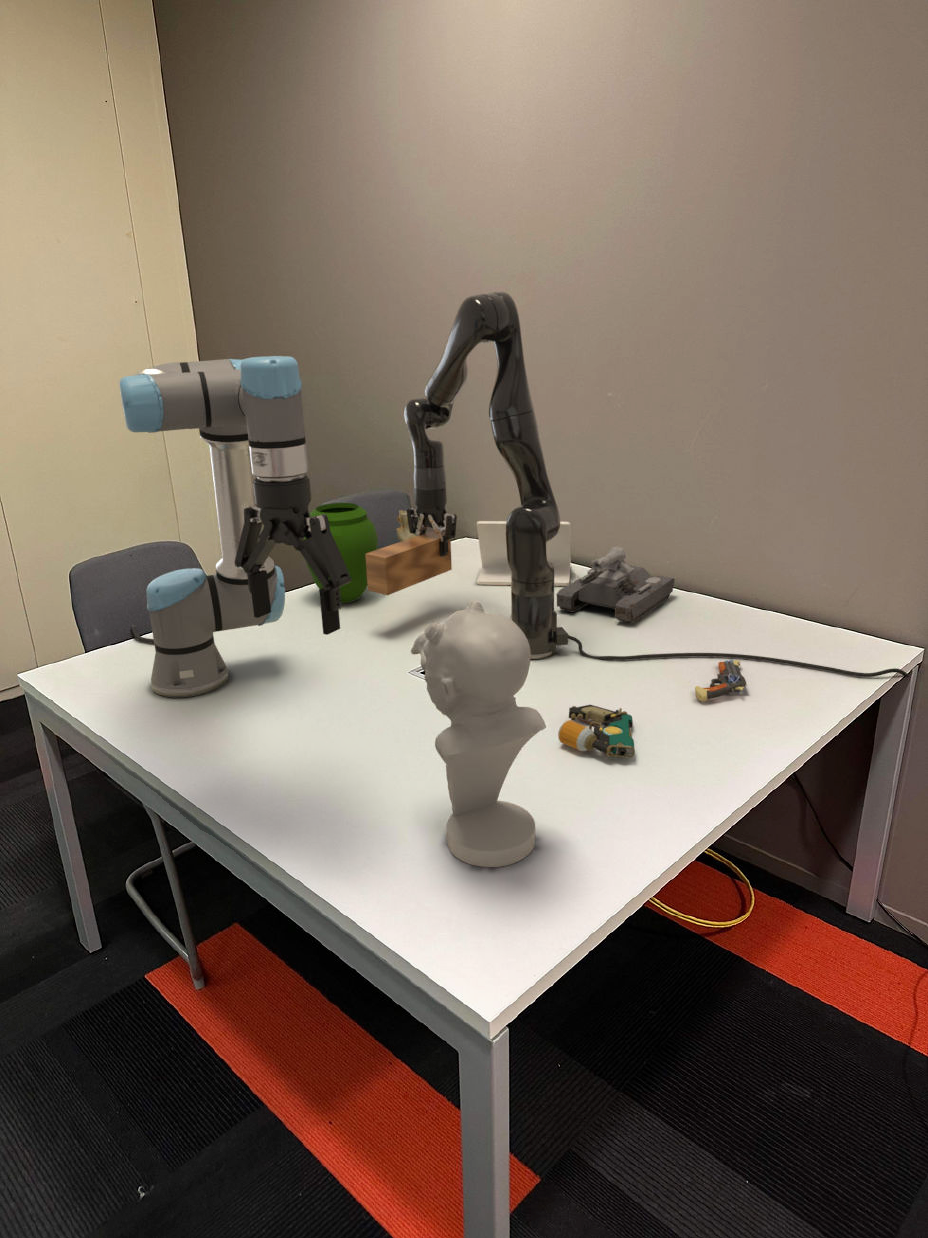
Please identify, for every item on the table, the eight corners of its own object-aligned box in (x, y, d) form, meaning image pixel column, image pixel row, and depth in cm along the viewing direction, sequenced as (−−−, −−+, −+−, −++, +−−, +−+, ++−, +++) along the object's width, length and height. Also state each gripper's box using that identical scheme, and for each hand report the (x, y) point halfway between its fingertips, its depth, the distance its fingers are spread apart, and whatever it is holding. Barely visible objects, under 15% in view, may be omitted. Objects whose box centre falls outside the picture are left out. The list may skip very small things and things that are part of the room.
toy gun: (696, 691, 161) (751, 688, 159) (689, 658, 179) (739, 655, 177) (697, 705, 162) (752, 702, 159) (690, 670, 179) (740, 667, 177)
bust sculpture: (481, 772, 140) (476, 569, 128) (565, 848, 120) (569, 617, 108) (392, 800, 134) (378, 588, 121) (465, 886, 114) (457, 642, 101)
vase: (396, 593, 227) (391, 503, 219) (349, 616, 212) (341, 520, 203) (340, 582, 237) (333, 496, 228) (291, 603, 222) (281, 511, 213)
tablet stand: (569, 585, 229) (570, 524, 223) (476, 584, 232) (475, 523, 226) (570, 566, 246) (571, 508, 240) (484, 564, 249) (483, 507, 243)
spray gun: (574, 713, 161) (653, 730, 155) (544, 749, 146) (630, 769, 140) (576, 692, 159) (656, 709, 153) (546, 727, 145) (632, 746, 139)
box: (432, 565, 212) (431, 531, 209) (451, 569, 208) (450, 534, 205) (367, 590, 195) (365, 553, 192) (387, 595, 192) (385, 557, 188)
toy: (603, 584, 229) (605, 530, 224) (673, 597, 218) (677, 540, 213) (555, 612, 210) (556, 553, 205) (630, 627, 199) (633, 566, 194)
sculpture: (417, 556, 259) (415, 507, 254) (417, 563, 252) (415, 513, 247) (398, 557, 259) (395, 508, 254) (398, 564, 252) (395, 514, 247)
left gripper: (197, 473, 119) (217, 615, 126) (331, 490, 106) (344, 648, 113) (238, 464, 125) (254, 601, 132) (370, 479, 112) (380, 630, 119)
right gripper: (396, 484, 202) (400, 552, 208) (443, 491, 193) (446, 562, 199) (417, 478, 207) (420, 545, 213) (463, 485, 199) (465, 554, 205)
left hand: (296, 623), depth 123 cm, fingers open, 13 cm apart
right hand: (432, 553), depth 206 cm, fingers closed on box, 6 cm apart
